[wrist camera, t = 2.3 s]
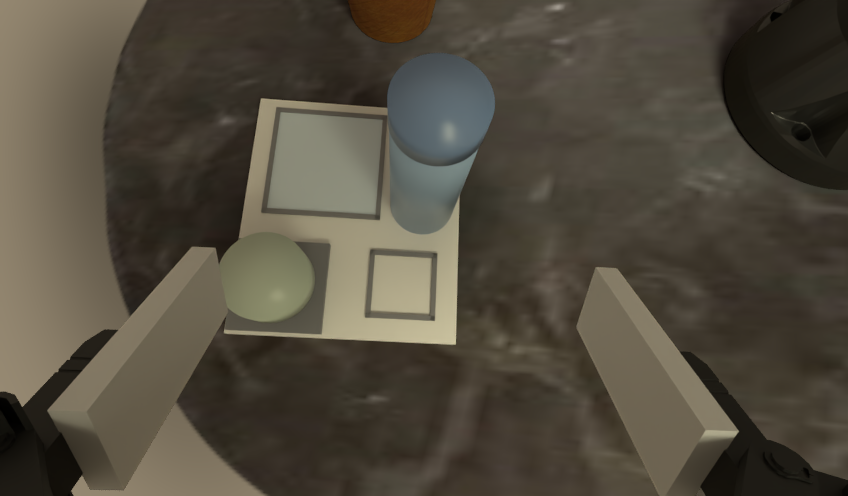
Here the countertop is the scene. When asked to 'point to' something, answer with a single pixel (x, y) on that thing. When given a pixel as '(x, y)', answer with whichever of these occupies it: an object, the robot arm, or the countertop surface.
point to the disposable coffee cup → (392, 18)
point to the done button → (266, 277)
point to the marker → (434, 136)
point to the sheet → (346, 229)
